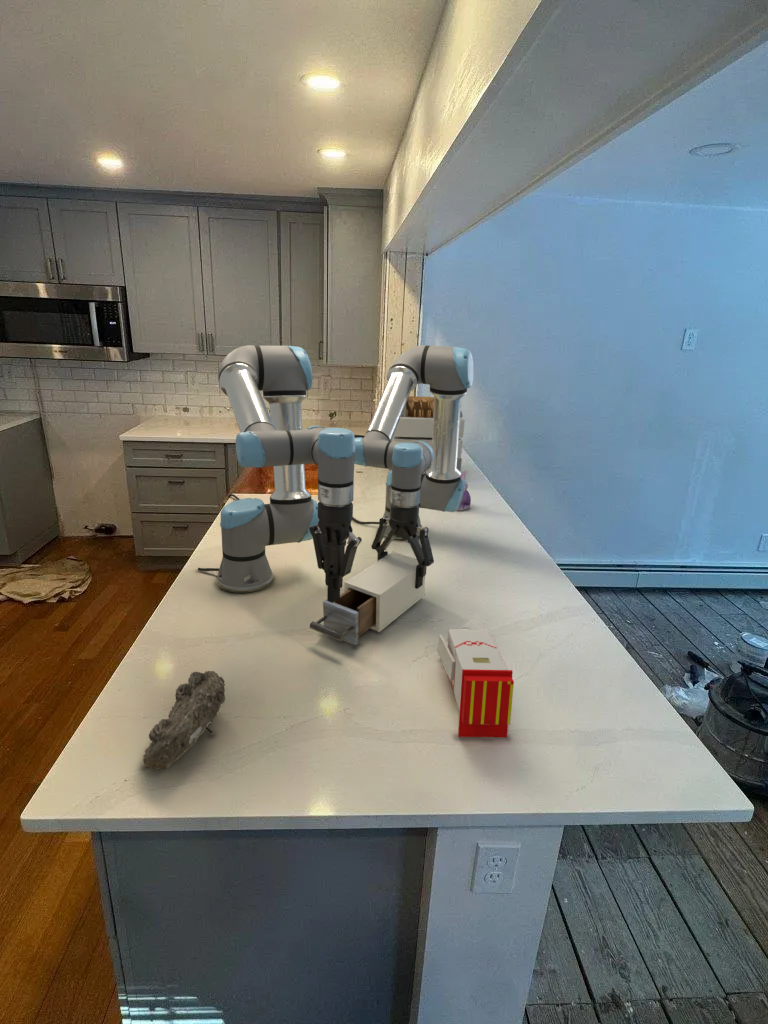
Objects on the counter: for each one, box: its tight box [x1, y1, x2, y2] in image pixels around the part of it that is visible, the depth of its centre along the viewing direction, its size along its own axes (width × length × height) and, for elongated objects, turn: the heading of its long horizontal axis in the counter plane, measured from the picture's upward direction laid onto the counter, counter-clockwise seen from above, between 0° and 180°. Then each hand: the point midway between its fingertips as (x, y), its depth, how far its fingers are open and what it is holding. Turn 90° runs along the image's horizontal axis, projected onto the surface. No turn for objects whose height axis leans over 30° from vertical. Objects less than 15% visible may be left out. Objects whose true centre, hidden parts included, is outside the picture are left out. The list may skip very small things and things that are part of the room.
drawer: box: [309, 588, 376, 646], centre depth 139 cm, size 26×10×8 cm, turn 146°
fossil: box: [142, 670, 226, 771], centre depth 103 cm, size 22×10×15 cm
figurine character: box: [354, 434, 365, 438], centre depth 311 cm, size 7×8×15 cm
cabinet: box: [343, 551, 426, 633], centre depth 148 cm, size 22×11×10 cm, turn 146°
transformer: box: [389, 395, 465, 472], centre depth 268 cm, size 34×33×41 cm
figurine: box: [456, 470, 472, 511], centre depth 227 cm, size 9×10×15 cm
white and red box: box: [437, 628, 515, 738], centre depth 117 cm, size 12×13×30 cm
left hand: (333, 599), depth 129 cm, fingers closed
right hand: (400, 580), depth 153 cm, fingers closed on cabinet, 11 cm apart
